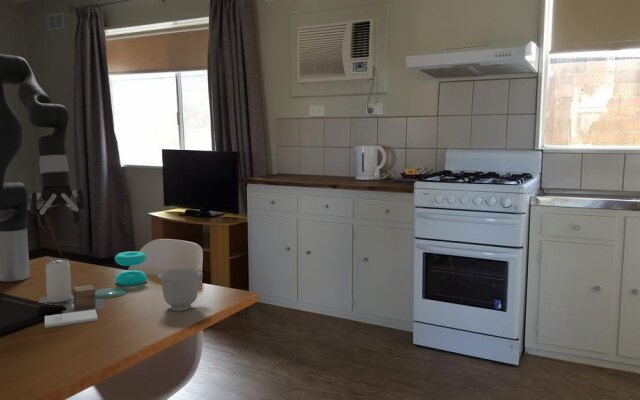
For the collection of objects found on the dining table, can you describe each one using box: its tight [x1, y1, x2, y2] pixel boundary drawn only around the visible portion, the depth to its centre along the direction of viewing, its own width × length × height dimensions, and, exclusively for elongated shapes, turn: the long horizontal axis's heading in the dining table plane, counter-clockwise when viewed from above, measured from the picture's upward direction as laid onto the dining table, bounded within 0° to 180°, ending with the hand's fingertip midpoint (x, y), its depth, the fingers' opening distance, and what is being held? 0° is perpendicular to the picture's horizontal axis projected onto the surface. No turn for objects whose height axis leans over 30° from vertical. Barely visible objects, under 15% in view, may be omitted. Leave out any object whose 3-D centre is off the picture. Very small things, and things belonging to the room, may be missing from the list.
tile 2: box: [61, 298, 106, 314], centre depth 149 cm, size 11×11×1 cm
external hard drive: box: [44, 309, 99, 329], centre depth 137 cm, size 2×8×12 cm
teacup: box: [157, 268, 204, 312], centre depth 148 cm, size 12×15×10 cm
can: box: [45, 257, 72, 303], centre depth 153 cm, size 6×6×12 cm
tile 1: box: [38, 293, 74, 307], centre depth 153 cm, size 11×11×1 cm
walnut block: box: [72, 284, 96, 309], centre depth 149 cm, size 5×5×5 cm
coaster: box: [95, 287, 128, 299], centre depth 161 cm, size 10×10×1 cm
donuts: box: [114, 250, 148, 286], centre depth 174 cm, size 10×10×10 cm
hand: (59, 225), depth 153 cm, fingers open, 8 cm apart
